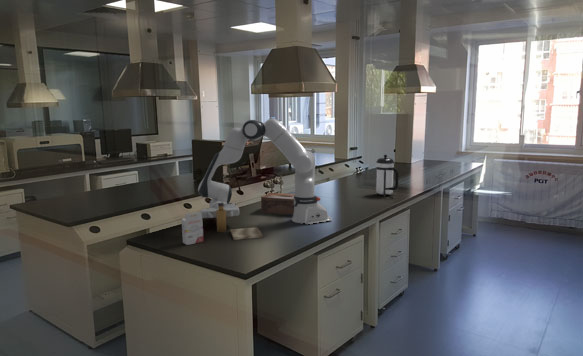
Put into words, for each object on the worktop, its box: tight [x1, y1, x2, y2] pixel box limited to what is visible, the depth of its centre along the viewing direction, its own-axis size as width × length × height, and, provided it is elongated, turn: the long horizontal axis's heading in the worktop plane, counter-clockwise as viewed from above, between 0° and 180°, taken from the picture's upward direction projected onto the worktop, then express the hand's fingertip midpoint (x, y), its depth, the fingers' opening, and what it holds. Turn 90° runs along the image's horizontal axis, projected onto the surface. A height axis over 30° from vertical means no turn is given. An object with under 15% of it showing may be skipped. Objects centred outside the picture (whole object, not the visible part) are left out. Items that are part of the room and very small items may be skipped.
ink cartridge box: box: [181, 211, 204, 246], centre depth 188 cm, size 9×5×15 cm, turn 126°
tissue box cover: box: [260, 192, 295, 215], centre depth 247 cm, size 26×14×10 cm, turn 71°
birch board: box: [230, 226, 263, 241], centre depth 201 cm, size 14×14×1 cm
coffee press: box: [374, 154, 399, 196], centre depth 294 cm, size 17×16×30 cm
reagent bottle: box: [216, 203, 227, 233], centre depth 206 cm, size 5×5×15 cm
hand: (221, 215), depth 206 cm, fingers open, 8 cm apart
